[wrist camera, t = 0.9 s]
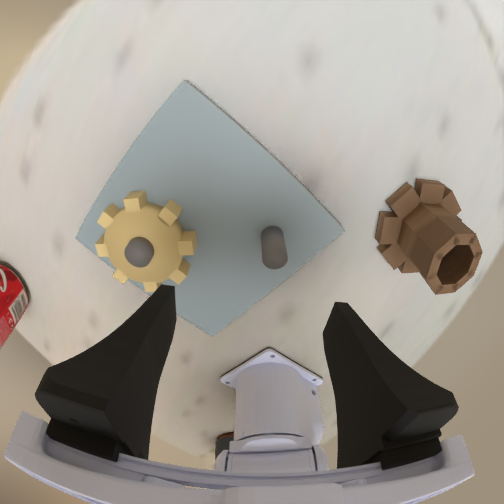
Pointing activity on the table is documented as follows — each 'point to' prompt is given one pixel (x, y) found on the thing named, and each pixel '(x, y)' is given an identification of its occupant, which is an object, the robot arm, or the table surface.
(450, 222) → the gear
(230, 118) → the carrier plate
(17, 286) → the soda can
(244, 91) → the table surface
